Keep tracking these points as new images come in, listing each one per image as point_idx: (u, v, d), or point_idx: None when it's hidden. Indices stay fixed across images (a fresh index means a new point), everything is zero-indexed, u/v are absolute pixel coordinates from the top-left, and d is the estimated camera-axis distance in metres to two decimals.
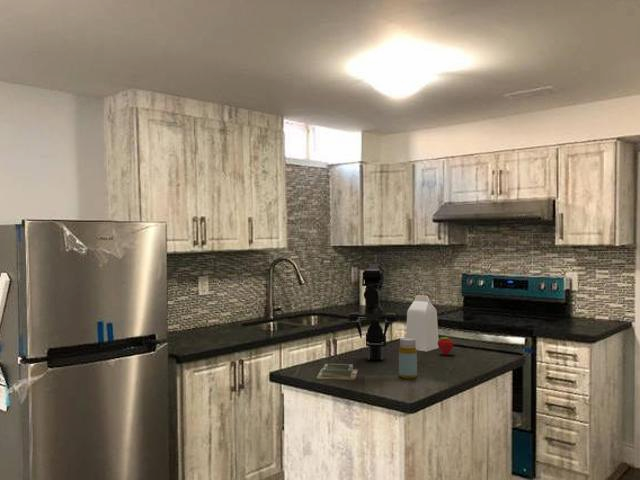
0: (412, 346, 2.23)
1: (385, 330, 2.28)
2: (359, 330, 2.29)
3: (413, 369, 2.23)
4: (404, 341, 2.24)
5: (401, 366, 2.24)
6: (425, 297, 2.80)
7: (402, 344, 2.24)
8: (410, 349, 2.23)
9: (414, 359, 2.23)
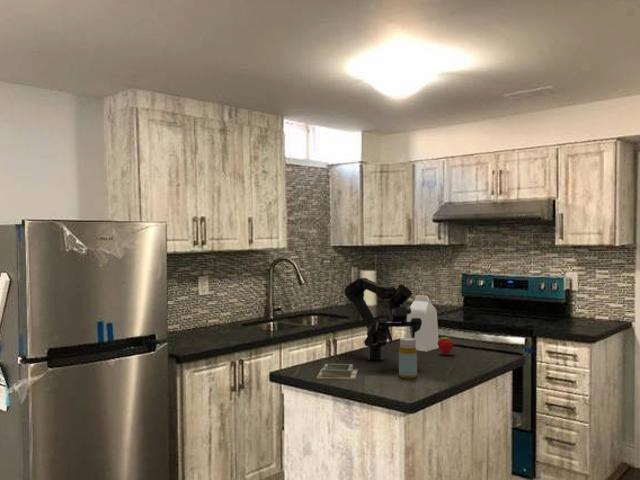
0: (412, 346, 2.23)
1: (413, 332, 2.36)
2: (389, 333, 2.34)
3: (413, 369, 2.23)
4: (404, 341, 2.24)
5: (401, 366, 2.24)
6: (425, 297, 2.80)
7: (402, 344, 2.24)
8: (410, 349, 2.23)
9: (414, 359, 2.23)
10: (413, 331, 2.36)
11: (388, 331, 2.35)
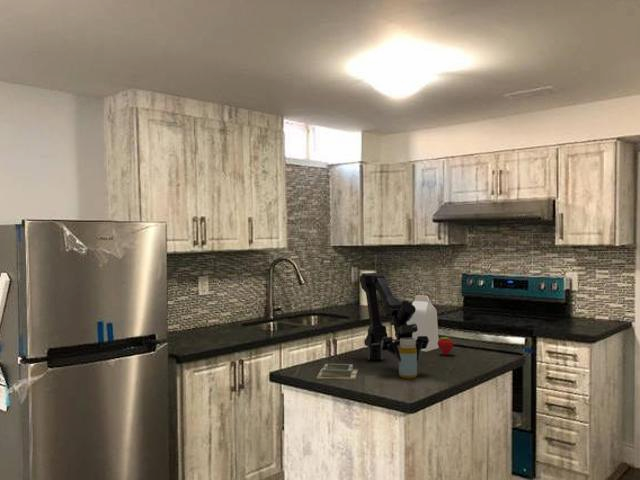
0: (412, 346, 2.23)
1: (417, 351, 2.27)
2: (397, 352, 2.26)
3: (413, 369, 2.23)
4: (404, 341, 2.23)
5: (401, 366, 2.24)
6: (425, 297, 2.80)
7: (402, 344, 2.24)
8: (410, 349, 2.23)
9: (414, 359, 2.23)
10: (417, 350, 2.27)
11: (396, 350, 2.26)
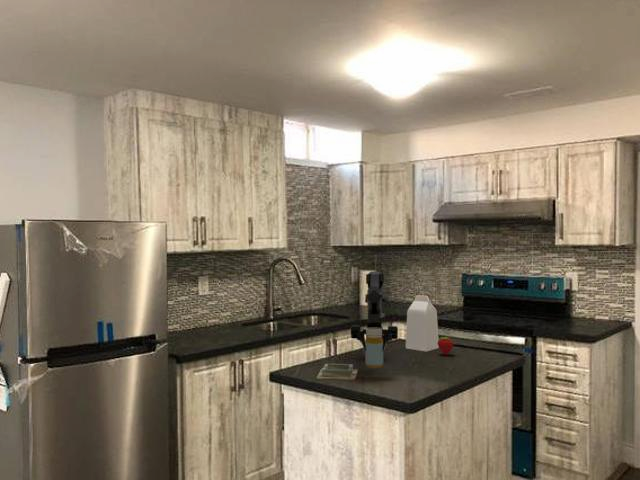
0: (376, 336, 2.22)
1: (384, 341, 2.25)
2: (363, 341, 2.25)
3: (378, 359, 2.22)
4: (368, 330, 2.23)
5: (366, 355, 2.24)
6: (425, 297, 2.80)
7: (367, 333, 2.23)
8: (374, 339, 2.22)
9: (378, 349, 2.22)
10: (384, 340, 2.25)
11: (363, 339, 2.26)
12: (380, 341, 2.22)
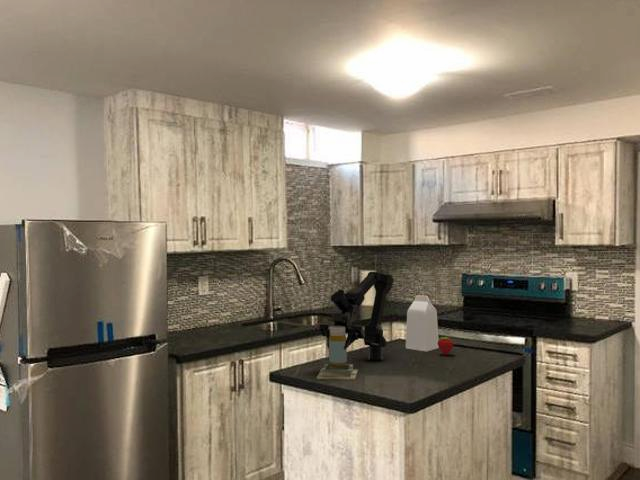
0: (337, 334, 2.27)
1: (347, 340, 2.29)
2: (328, 339, 2.32)
3: (338, 356, 2.27)
4: (330, 328, 2.28)
5: (329, 353, 2.30)
6: (425, 297, 2.80)
7: (330, 331, 2.29)
8: (335, 337, 2.27)
9: (339, 347, 2.27)
10: (347, 339, 2.29)
11: (328, 337, 2.32)
12: (341, 339, 2.27)
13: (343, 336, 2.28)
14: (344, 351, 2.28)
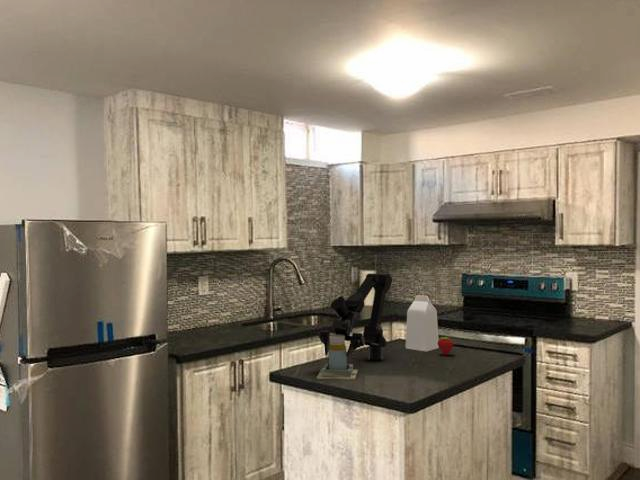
0: (337, 343, 2.27)
1: (349, 347, 2.28)
2: (325, 346, 2.32)
3: (338, 366, 2.27)
4: (330, 338, 2.29)
5: (329, 362, 2.30)
6: (425, 297, 2.80)
7: (330, 340, 2.30)
8: (335, 346, 2.27)
9: (339, 356, 2.27)
10: (350, 346, 2.28)
11: (325, 344, 2.33)
12: (341, 348, 2.27)
13: (343, 345, 2.28)
14: (344, 360, 2.28)
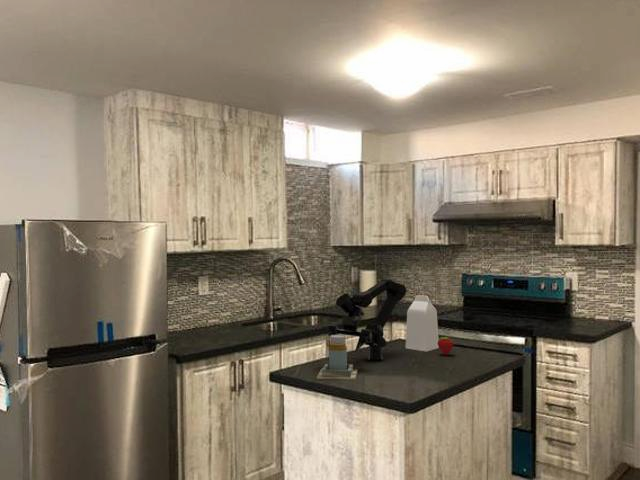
0: (337, 343, 2.27)
1: (358, 343, 2.37)
2: None
3: (338, 366, 2.27)
4: (331, 338, 2.29)
5: (329, 362, 2.30)
6: (425, 297, 2.80)
7: (330, 340, 2.30)
8: (335, 346, 2.27)
9: (339, 356, 2.27)
10: (358, 342, 2.37)
11: None
12: (341, 348, 2.27)
13: (343, 345, 2.28)
14: (344, 360, 2.28)
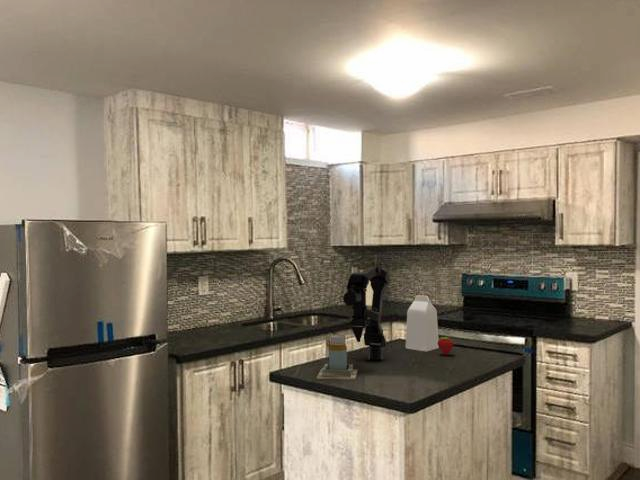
0: (337, 343, 2.27)
1: (362, 329, 2.46)
2: (361, 334, 2.35)
3: (338, 366, 2.27)
4: (331, 338, 2.29)
5: (329, 362, 2.30)
6: (425, 297, 2.80)
7: (330, 340, 2.30)
8: (335, 346, 2.27)
9: (339, 356, 2.27)
10: (363, 328, 2.46)
11: (361, 332, 2.35)
12: (341, 348, 2.27)
13: (343, 345, 2.28)
14: (344, 360, 2.28)
